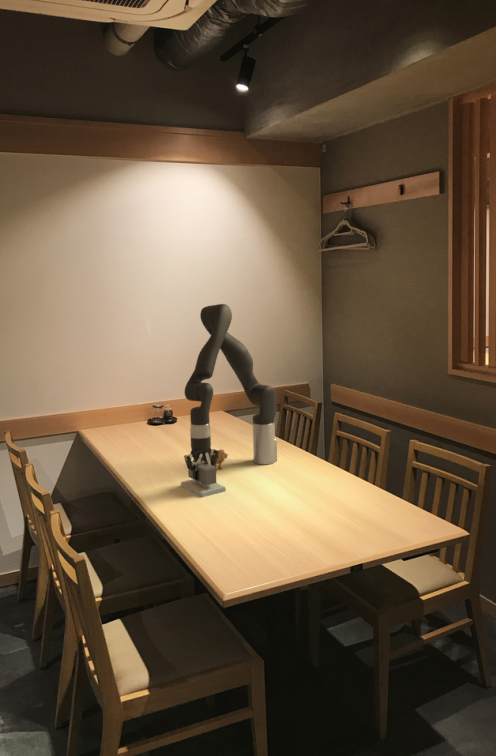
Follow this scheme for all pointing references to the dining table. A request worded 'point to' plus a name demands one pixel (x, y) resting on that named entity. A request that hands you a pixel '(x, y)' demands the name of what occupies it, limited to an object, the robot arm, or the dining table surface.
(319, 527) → the dining table surface
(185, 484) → the board
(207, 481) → the block
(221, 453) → the lion figurine
